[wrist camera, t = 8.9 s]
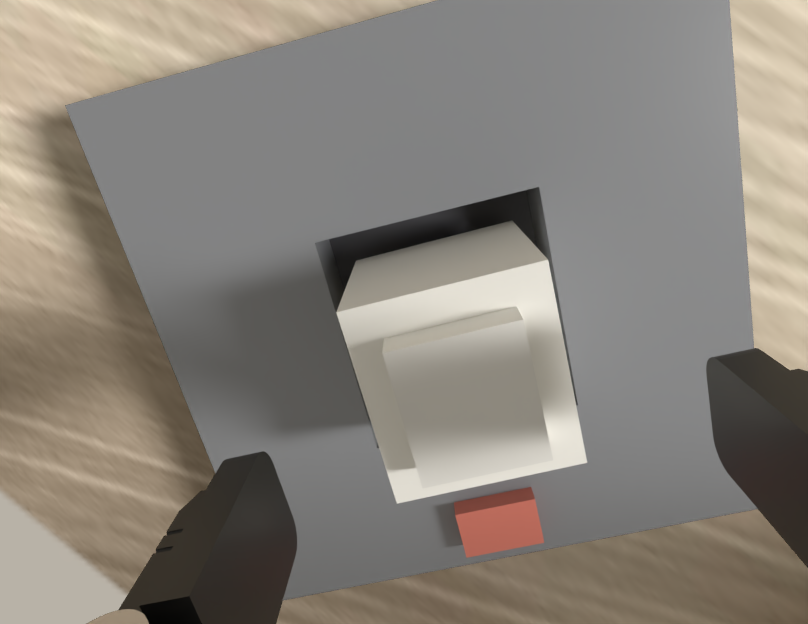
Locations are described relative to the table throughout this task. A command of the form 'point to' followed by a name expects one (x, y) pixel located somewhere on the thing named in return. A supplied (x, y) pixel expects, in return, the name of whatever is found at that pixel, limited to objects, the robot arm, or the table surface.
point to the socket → (435, 219)
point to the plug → (462, 362)
